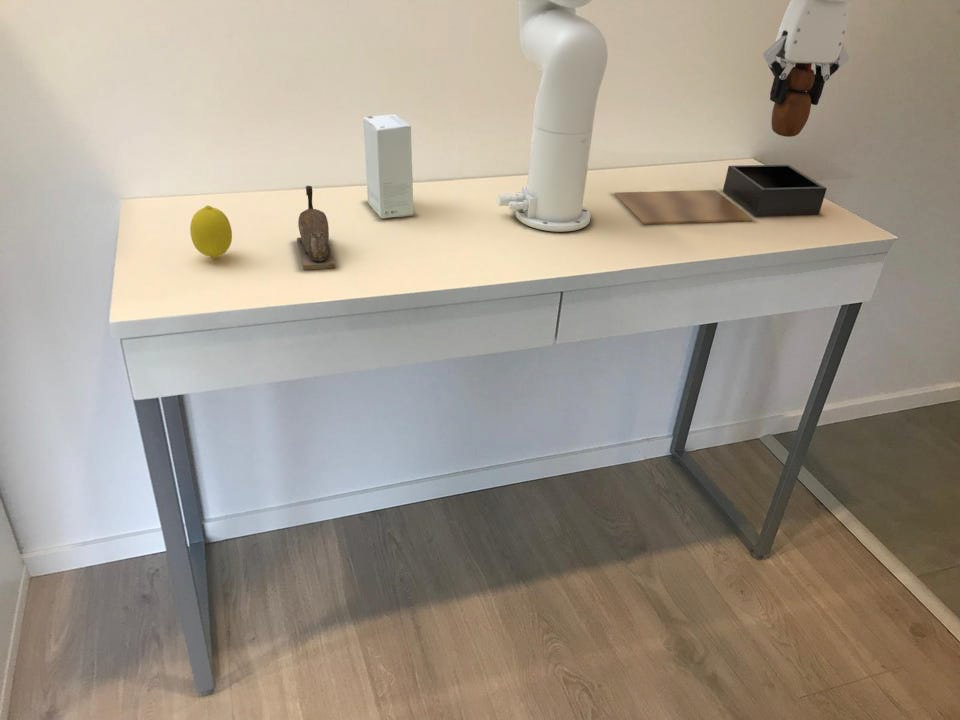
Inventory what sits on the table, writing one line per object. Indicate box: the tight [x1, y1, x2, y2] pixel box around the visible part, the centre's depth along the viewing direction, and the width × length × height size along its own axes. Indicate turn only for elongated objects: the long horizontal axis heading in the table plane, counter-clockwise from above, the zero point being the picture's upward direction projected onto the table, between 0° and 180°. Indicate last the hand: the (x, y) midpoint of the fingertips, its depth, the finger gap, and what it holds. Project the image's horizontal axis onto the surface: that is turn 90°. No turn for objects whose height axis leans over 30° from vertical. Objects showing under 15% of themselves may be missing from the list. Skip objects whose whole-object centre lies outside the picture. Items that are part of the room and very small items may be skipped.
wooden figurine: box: [770, 63, 815, 138], centre depth 136 cm, size 7×6×15 cm
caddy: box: [722, 164, 827, 218], centre depth 145 cm, size 13×13×5 cm
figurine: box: [296, 185, 336, 271], centre depth 116 cm, size 14×4×9 cm, turn 16°
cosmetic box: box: [362, 113, 414, 219], centre depth 130 cm, size 8×6×15 cm
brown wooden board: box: [615, 189, 753, 225], centre depth 142 cm, size 20×14×1 cm
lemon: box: [189, 205, 233, 260], centre depth 112 cm, size 6×6×8 cm
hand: (793, 101), depth 137 cm, fingers closed on wooden figurine, 6 cm apart
